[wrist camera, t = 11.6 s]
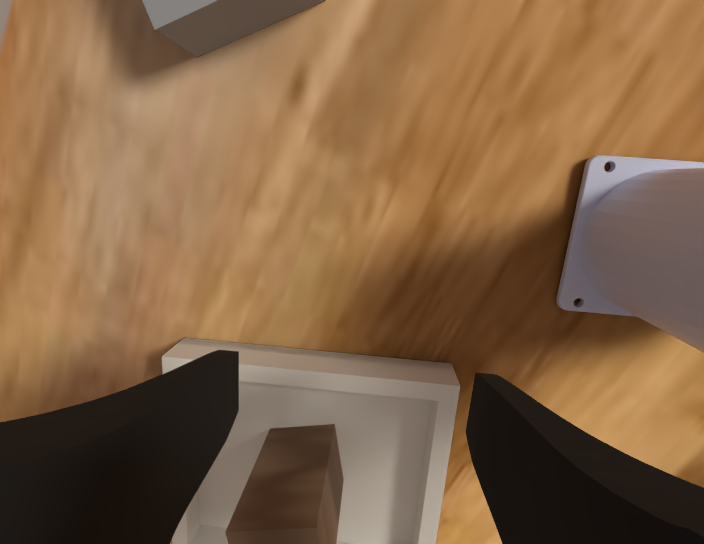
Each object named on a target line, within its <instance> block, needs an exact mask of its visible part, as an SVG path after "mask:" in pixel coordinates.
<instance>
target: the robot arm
mask: <svg viewBox="0 0 704 544" xmlns="http://www.w3.org/2000/svg"><path fill="white" fill-rule="evenodd" d="M607 162H609V163H610V164H611V168H610V170H609V171H607V172H606V171H605V170H604V166H605V164H606V163H607ZM577 298H580V302H579V303H578V304H577V305H574V303H573V302H574V300H575V299H577ZM556 303H557V305H558V306H559V307H560V308H562V309H563V310H567V311H578V312H589V313H601V314H612V315H623V316H634V317H639V318H641V319H642V320H644V321H646V322H648V323H650V324H652V325H654V326H655V327H657V328H659V329H661V330H663V331H665V332H667V333H668V334H670V335H672V336H674V337H676V338H678V339H679V340H681V341H683V342H685V343H687V344H689V345H691V346H692V347H694V348H696V349H698V350H700V351H702V352H704V162H691V161H677V160H662V159H648V158H633V157H619V156H604V155H599V156H593V157H591V158H589V159H588V161H587V162H586V164H585V168H584V173H583V177H582V182H581V187H580V191H579V196H578V201H577V205H576V210H575V215H574V219H573V224H572V229H571V233H570V238H569V243H568V248H567V252H566V257H565V262H564V266H563V271H562V276H561V280H560V285H559V290H558V294H557V299H556ZM238 411H239V351H228V350H217V351H214V352H211V353H208V354H206V355H204V356H202V357H199V358H197V359H195V360H193V361H191V362H189V363H186V364H184V365H182V366H180V367H178V368H176V369H173V370H171V371H169V372H167V373H165V374H162V375H160V376H157V377H155V378H153V379H150V380H148V381H145V382H143V383H141V384H138V385H136V386H133V387H131V388H128V389H126V390H123V391H120V392H117V393H114V394H111V395H108V396H105V397H102V398H99V399H96V400H93V401H90V402H86V403H83V404H79V405H75V406H71V407H67V408H63V409H60V410H56V411H52V412H48V413H44V414H40V415H35V416H31V417H26V418H21V419H16V420H11V421H6V422H0V544H170V542H171V540H172V537H173V535H174V533H175V531H176V529H177V527H178V524H179V522H180V521H181V519H182V517H183V515H184V513H185V511H186V509H187V507H188V506H189V504H190V502H191V501H192V499H193V497H194V495H195V494H196V492H197V490H198V489H199V487H200V485H201V483H202V482H203V480H204V478H205V477H206V475H207V473H208V472H209V470H210V468H211V466H212V465H213V463H214V461H215V460H216V458H217V456H218V454H219V453H220V451H221V449H222V447H223V446H224V444H225V442H226V440H227V438H228V436H229V433H230V431H231V429H232V426H233V424H234V421H235V419H236V416H237V414H238ZM466 436H467V440H468V445H469V450H470V454H471V458H472V462H473V465H474V468H475V471H476V474H477V477H478V479H479V482H480V485H481V487H482V490H483V493H484V495H485V498H486V501H487V503H488V506H489V509H490V511H491V514H492V517H493V519H494V522H495V524H496V527H497V530H498V532H499V535H500V538H501V540H502V543H503V544H704V488H702V487H700V486H697V485H695V484H692V483H690V482H687V481H685V480H682V479H680V478H678V477H675V476H673V475H671V474H668V473H666V472H664V471H662V470H659V469H657V468H655V467H653V466H650V465H648V464H646V463H644V462H641V461H639V460H637V459H635V458H633V457H631V456H629V455H627V454H625V453H623V452H621V451H619V450H617V449H615V448H613V447H612V446H610V445H608V444H606V443H604V442H602V441H600V440H598V439H596V438H595V437H593V436H591V435H589V434H588V433H586V432H584V431H583V430H581V429H579V428H578V427H576V426H574V425H573V424H571V423H570V422H568V421H566V420H565V419H563V418H561V417H560V416H558V415H557V414H555V413H554V412H552V411H551V410H549V409H548V408H546V407H545V406H543V405H542V404H540V403H539V402H537V401H536V400H534V399H533V398H532V397H530V396H529V395H527V394H526V393H524V392H523V391H521V390H520V389H519V388H517V387H516V386H514V385H513V384H511V383H510V382H508V381H507V380H505V379H503V378H502V377H500V376H498V375H495V374H484V373H475V379H474V385H473V391H472V397H471V403H470V409H469V416H468V422H467V428H466Z"/></svg>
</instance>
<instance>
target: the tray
mask: <svg viewBox="0 0 704 544" xmlns="http://www.w3.org/2000/svg"><path fill="white" fill-rule="evenodd" d="M217 350H228V351H239V411H238V414H237V416H236V419H235V421H234V424H233V426H232V429H231V431H230V433H229V436H228V438H227V440H226V442H225V444H224V446H223V447H222V449H221V451H220V453H219V454H218V456H217V458H216V460H215V461H214V463H213V465H212V466H211V468H210V470H209V472H208V473H207V475H206V477H205V478H204V480H203V482H202V483H201V485H200V487H199V489H198V490H197V492H196V494H195V495H194V497H193V499H192V501H191V502H190V504H189V506H188V507H187V509H186V511H185V513H184V515H183V517H182V519H181V521H180V522H179V524H178V527H177V529H176V531H175V533H174V535H173V537H172V544H228V541H227V537H226V533H225V532H226V529H227V527H228V525H229V522H230V520H231V518H232V515H233V513H234V511H235V509H236V506H237V504H238V502H239V499H240V497H241V495H242V492H243V490H244V488H245V485H246V483H247V481H248V478H249V476H250V474H251V471H252V469H253V467H254V465H255V462H256V460H257V458H258V455H259V453H260V451H261V448H262V446H263V444H264V441H265V439H266V437H267V434H268V432H269V430H270V429H271V428H285V427H299V426H313V425H327V424H335V429H336V435H337V441H338V448H339V454H340V460H341V466H342V473H343V479H344V481H343V490H342V499H341V507H340V516H339V525H338V533H337V542H336V544H436V537H437V531H438V525H439V518H440V512H441V506H442V499H443V493H444V487H445V480H446V474H447V468H448V461H449V455H450V449H451V442H452V436H453V430H454V423H455V417H456V411H457V404H458V398H459V391H460V384H459V381H458V379H457V376H456V374H455V371H454V369H453V366H452V363H443V362H432V361H422V360H411V359H401V358H391V357H380V356H370V355H360V354H349V353H339V352H328V351H318V350H308V349H297V348H287V347H276V346H266V345H256V344H245V343H235V342H225V341H214V340H204V339H193V338H183V339H182V340H181V341H180V342H179V343H177V344H176V345H175V346H174V347H173V348H171V349H170V350H169V351H168V352H167V353H165V354H164V355H163V356H162V371H163V374H165V373H167V372H169V371H171V370H173V369H176V368H178V367H180V366H182V365H184V364H186V363H189V362H191V361H193V360H195V359H197V358H199V357H202V356H204V355H206V354H208V353H211V352H214V351H217Z"/></svg>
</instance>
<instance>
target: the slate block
mask: <svg viewBox="0 0 704 544" xmlns="http://www.w3.org/2000/svg"><path fill="white" fill-rule="evenodd" d="M142 1H143V4H144V6H145V8H146V11H147V13H148V15H149V18H150V20H151V23H152V25H153V27H154V30H156V31H157V32H159V33H160V34H162V35H163V36H165V37H166V38H168V39H169V40H171V41H172V42H174V43H176V44H177V45H179V46H180V47H182V48H183V49H185V50H186V51H188V52H189V53H191V54H192V55H194V56H196V57H199V56H201V55H203V54H206V53H208V52H210V51H213V50H215V49H217V48H219V47H222V46H224V45H226V44H228V43H231V42H233V41H235V40H237V39H240V38H242V37H244V36H246V35H249V34H251V33H253V32H255V31H258V30H260V29H262V28H265V27H267V26H269V25H271V24H274V23H276V22H278V21H280V20H283V19H285V18H287V17H289V16H292V15H294V14H296V13H298V12H301V11H303V10H305V9H308V8H310V7H312V6H314V5H317V4H319V3H321V2H323V1H326V0H142Z"/></svg>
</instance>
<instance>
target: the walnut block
mask: <svg viewBox="0 0 704 544" xmlns="http://www.w3.org/2000/svg"><path fill="white" fill-rule="evenodd" d="M343 481H344V479H343V473H342V466H341V460H340V454H339V448H338V441H337V435H336V429H335V424H327V425H313V426H299V427H285V428H271V429H270V430H269V432H268V434H267V437H266V439H265V441H264V444H263V446H262V448H261V451H260V453H259V455H258V458H257V460H256V462H255V465H254V467H253V469H252V471H251V474H250V476H249V478H248V481H247V483H246V485H245V488H244V490H243V492H242V495H241V497H240V499H239V502H238V504H237V506H236V509H235V511H234V513H233V515H232V518H231V520H230V522H229V525H228V527H227V529H226V532H225V533H226V537H227V541H228V544H336V542H337V533H338V525H339V516H340V507H341V499H342V490H343Z"/></svg>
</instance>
